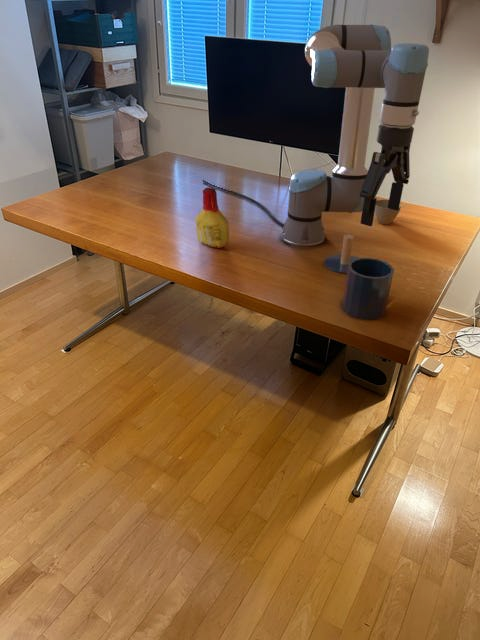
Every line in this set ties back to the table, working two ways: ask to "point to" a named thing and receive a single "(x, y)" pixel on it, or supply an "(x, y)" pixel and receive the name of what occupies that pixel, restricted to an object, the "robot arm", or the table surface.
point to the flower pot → (385, 212)
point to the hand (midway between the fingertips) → (380, 216)
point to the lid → (341, 257)
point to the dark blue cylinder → (367, 288)
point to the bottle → (212, 221)
